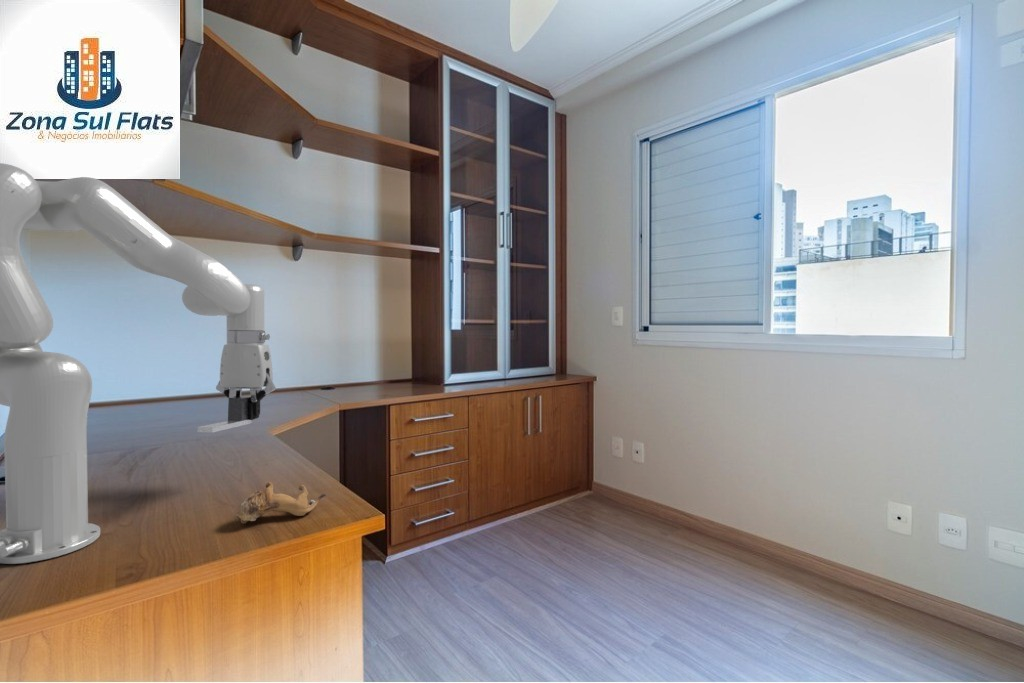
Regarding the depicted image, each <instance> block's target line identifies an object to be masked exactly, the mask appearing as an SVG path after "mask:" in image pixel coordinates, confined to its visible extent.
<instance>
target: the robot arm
mask: <svg viewBox="0 0 1024 683" xmlns="http://www.w3.org/2000/svg"><path fill="white" fill-rule="evenodd" d="M22 231H37V232H47V231H48V232H75V231H84V233H86V234H88V235H89V236H90V237H92V238H94V239H95V240H96V241H98V242H99V243H100V244H102V245H103V246H104V247H106V248H107V249H108V250H110V251H112V252H113V253H115V254H116V255H117V256H118V257H120V258H121V259H122V260H124V261H125V262H126V263H127V264H130V265H131V266H132V267H134V268H135V269H139V270H141V271H143V272H145V273H148V274H152V275H156V276H159V277H164V278H167V279H171V280H173V281H175V282H179V283H181V284H183V285H185V286H186V287H185V288H184V289H183V291H182V294H181V299H182V303H183V305H184V307H185V308H186V309H187V310H188V311H190V312H191V313H194V314H195V315H199V316H211V317H212V316H213V317H215V316H221V317H222V316H226V344H224V345H223V347H222V352H221V356H220V366H219V381H218V382H217V385H216V387H215V390H216V391H218V392H220V393H223V394H224V396H225V397H227V399H229V398H233V397H242V391H243V389H246V390H247V389H249V392H250V393H249V394H250V397H251V402H250V403H249V420H251V421H253V420H257V419H259V418H260V415H261V401H262V400H263V399H264V398H265V397H266V396H267V395H268V394H270V393H272V392H274V391H275V390H276V386H275V384H274V381H273V380H274V376H273V374H274V373H273V362H272V357H271V356H272V355H271V351H270V347H269V344H265V343H266V340H267V341H270V337H271V336H270V334H269V333H266V331H265V290H264V289H263V287H262V286H261V285H258V284H251V283H250V284H249V283H244V282H243V281H242V280H241V279H240V278H239V277H238V276H236V274H235V273H233V272H232V271H231V270H230V269H228V268H227V267H226V266H225V265H224V264H223V263H221V262H220V261H218V260H217V259H215V258H213V257H212V256H210V255H208V254H206V253H204V252H202V251H201V250H199V249H196V248H195V247H193V246H192V245H189V244H188V243H185V242H183V241H182V240H180V239H177V238H175V237H174V236H172V235H170V234H169V233H168V232H166V231H165V230H164V229H162V228H161V227H160V226H159V225H158V224H156V223H155V222H154V221H153V220H152V219H150V218H149V217H148V216H147V215H146V214H145V213H143V212H142V211H141V210H140V209H138V208H137V207H136V206H135V205H134V204H133V203H131V202H130V201H129V200H128V199H127V198H125V197H124V196H123V195H122V194H121V193H119V192H118V191H117V190H115V188H113V187H111V185H109V184H107V183H106V182H105V181H102V180H100V179H98V178H93V177H87V176H82V177H72V178H71V177H70V178H67V179H63V180H58V181H44V180H43V181H42V180H36V179H35V178H34V177H33V176H32V175H31V174H30V173H28V172H27V171H26V170H24V169H23V168H20V167H17V166H15V165H11V164H8V163H4V162H3V163H1V162H0V405H1V406H6V407H8V408H9V412H8V416H7V420H6V424H5V430H4V438H3V439H4V440H3V441H4V442H3V449H4V450H3V451H4V452H3V453H4V454H3V455H4V479H5V481H4V484H5V485H4V486H5V487H4V489H5V493H4V494H5V524H6V525H5V528H4V529H0V564H4V565H5V564H6V565H16V564H19V565H20V564H27V563H34V562H39V561H40V562H41V561H44V560H49V559H53V558H57V557H61V556H65V555H67V554H70V553H73V552H75V551H77V550H80V549H83V548H85V547H86V546H89V545H91V544H92V543H94V542H95V541H96V540H98V538H100V536H101V527H100V526H99V525H97V524H96V523H95V524H94V523H92V522H91V523H89V506H88V505H89V501H88V500H89V499H88V497H89V495H88V488H89V487H88V447H87V446H88V444H87V443H88V442H87V438H88V437H87V434H88V433H87V432H88V431H87V428H88V413H89V407H90V401H91V397H92V392H93V380H92V376H91V373H90V371H89V370H88V368H87V367H86V366H85V364H83V363H82V362H81V361H80V360H78V359H76V358H75V357H73V356H70V355H67V354H64V353H60V352H51V351H43V349H42V346H41V344H40V343H42V342H43V341H45V340H46V339H47V338H49V336H50V334H51V333H52V331H53V328H54V320H53V316H52V313H51V310H50V308H49V307H48V305H47V302H46V301H45V300H44V297H43V295H42V293H41V292H40V289H39V288H38V286H37V284H36V282H35V279H34V278H33V277H32V274H31V273H30V270H29V268H28V266H27V263H26V261H25V259H24V257H23V253H22V250H21V247H20V246H21V245H20V238H21V232H22ZM263 387H265V388H263Z"/></svg>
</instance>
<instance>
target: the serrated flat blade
mask: <svg viewBox="0 0 1024 683" xmlns="http://www.w3.org/2000/svg"><path fill="white" fill-rule="evenodd" d="M250 402H251V396H241V397H233V398H228V404H227V405H228V412H227V420H225V421H221V422H216V423H211V424H206V425H201V426H198V427H197V433H216V432H220V431H224V430H228V429H233V428H237V427H242V426H247V425H249V424H252V420H249V403H250Z"/></svg>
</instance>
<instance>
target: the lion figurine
mask: <svg viewBox="0 0 1024 683" xmlns="http://www.w3.org/2000/svg"><path fill="white" fill-rule="evenodd" d="M298 490H299V491H300V492H302V493H300V494H299V495H298V496H297V498H294V497H292V496H290V495H288V494H285V493H275V492H274V484H273V483H272V482H270V481H269V482H266V484H265V490H258V491H257V492H253V493H251V494H250V495H249V496H248V497H246V498H245V500H243V501H242V502H241V503H240V504H239V505H238V507H237V508H238V509H237V512H236V514H235V516H237V517H239V518H240V523H241V524H242V525H243V524H244V523H245V524H247V523H248V522H254V521H255V522H256V520H257V518H259V517H261V516H262V515H264V514H266V513H267V512H270V511H272V512H279V513H280V512H281V513H283V512H284V513H289V514H291V515H293V516H295V517H296V516H297V517H302V516H303V517H304V516H305V515H307V513H309V512H311V511H312V510H314V509H315V508H316V506H317V504H318V503H319V501H321V499H322V498H325V497H326V496H327V493H323V494H320V496H319V497H318V498H317V499H316V500H314V499H311V500H308V495H309V492H308V490H307V487H306V486H305V485H304V484H300V485H299V486H298Z"/></svg>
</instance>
